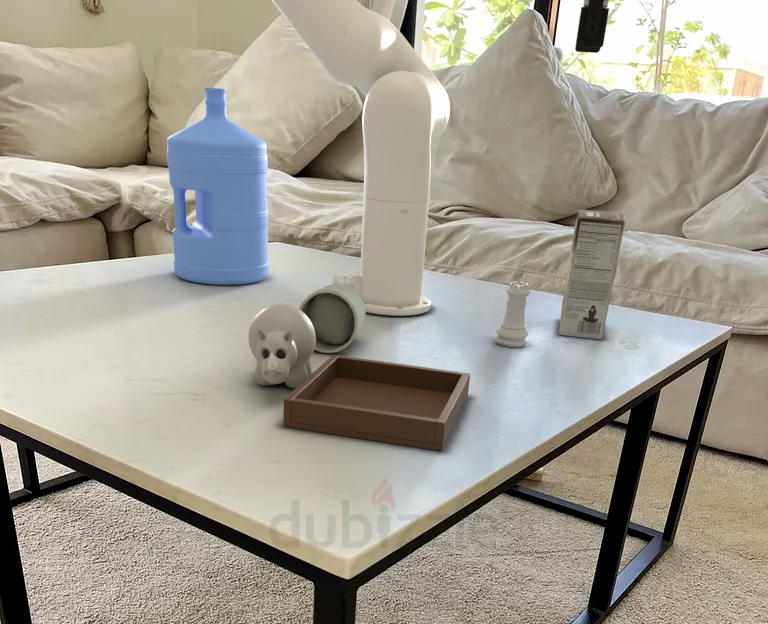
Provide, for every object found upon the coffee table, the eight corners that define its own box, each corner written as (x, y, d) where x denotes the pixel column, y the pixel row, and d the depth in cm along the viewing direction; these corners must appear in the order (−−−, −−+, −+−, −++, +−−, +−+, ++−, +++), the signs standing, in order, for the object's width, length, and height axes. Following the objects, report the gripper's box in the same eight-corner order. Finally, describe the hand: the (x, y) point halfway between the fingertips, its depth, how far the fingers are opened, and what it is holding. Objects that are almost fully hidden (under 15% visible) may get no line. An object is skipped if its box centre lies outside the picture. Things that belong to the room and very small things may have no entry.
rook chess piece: (491, 338, 108) (498, 279, 104) (522, 339, 108) (531, 280, 104) (498, 347, 104) (506, 286, 100) (530, 348, 104) (540, 288, 101)
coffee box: (558, 320, 119) (577, 208, 112) (601, 324, 118) (622, 212, 111) (558, 335, 111) (578, 216, 104) (603, 340, 110) (627, 220, 103)
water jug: (254, 265, 141) (251, 90, 128) (280, 284, 129) (279, 92, 116) (166, 267, 135) (154, 83, 122) (184, 287, 123) (173, 85, 110)
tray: (283, 426, 75) (283, 399, 74) (332, 378, 89) (332, 354, 87) (441, 451, 72) (444, 423, 71) (467, 397, 86) (470, 373, 84)
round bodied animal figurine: (234, 406, 79) (231, 322, 75) (256, 369, 90) (254, 294, 86) (304, 411, 79) (305, 328, 75) (318, 374, 90) (320, 299, 86)
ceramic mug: (367, 338, 103) (369, 279, 100) (356, 356, 96) (358, 293, 93) (289, 332, 105) (288, 273, 101) (272, 349, 97) (271, 286, 94)
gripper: (580, -106, 98) (558, 52, 106) (583, -144, 83) (557, 43, 91) (641, -104, 97) (614, 55, 105) (655, -143, 82) (623, 46, 90)
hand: (588, 49), depth 98 cm, fingers open, 9 cm apart
